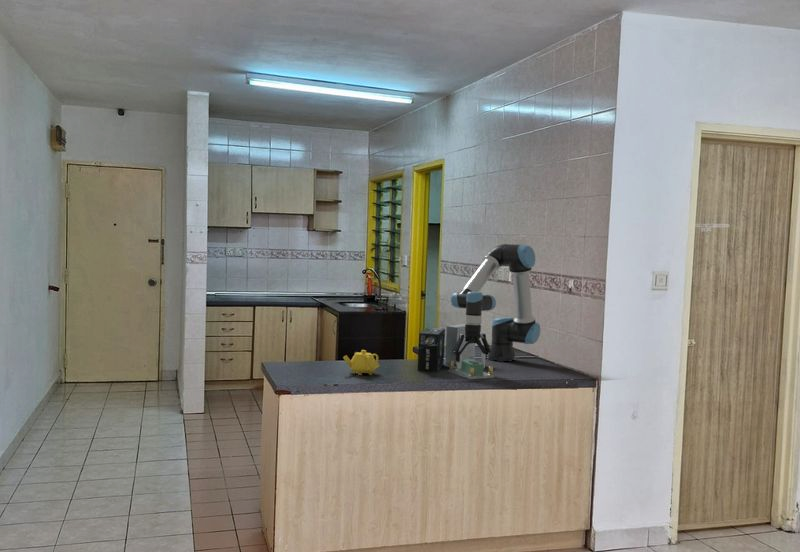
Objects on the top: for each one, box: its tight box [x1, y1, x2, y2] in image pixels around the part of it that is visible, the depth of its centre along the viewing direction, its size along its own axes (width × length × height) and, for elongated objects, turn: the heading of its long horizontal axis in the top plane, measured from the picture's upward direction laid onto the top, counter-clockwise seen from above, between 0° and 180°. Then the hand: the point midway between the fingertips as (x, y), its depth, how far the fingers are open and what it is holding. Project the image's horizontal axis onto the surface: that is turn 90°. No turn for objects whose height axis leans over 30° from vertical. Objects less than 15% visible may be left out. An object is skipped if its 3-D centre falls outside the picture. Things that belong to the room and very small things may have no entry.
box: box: [417, 327, 446, 373], centre depth 364 cm, size 23×10×19 cm, turn 168°
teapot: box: [342, 349, 380, 376], centre depth 341 cm, size 14×14×11 cm
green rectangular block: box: [459, 359, 485, 375], centre depth 351 cm, size 7×14×6 cm, turn 17°
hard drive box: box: [444, 323, 476, 367], centre depth 382 cm, size 16×8×20 cm, turn 134°
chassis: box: [447, 361, 495, 380], centre depth 351 cm, size 13×20×5 cm, turn 27°
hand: (471, 367), depth 351 cm, fingers open, 13 cm apart
